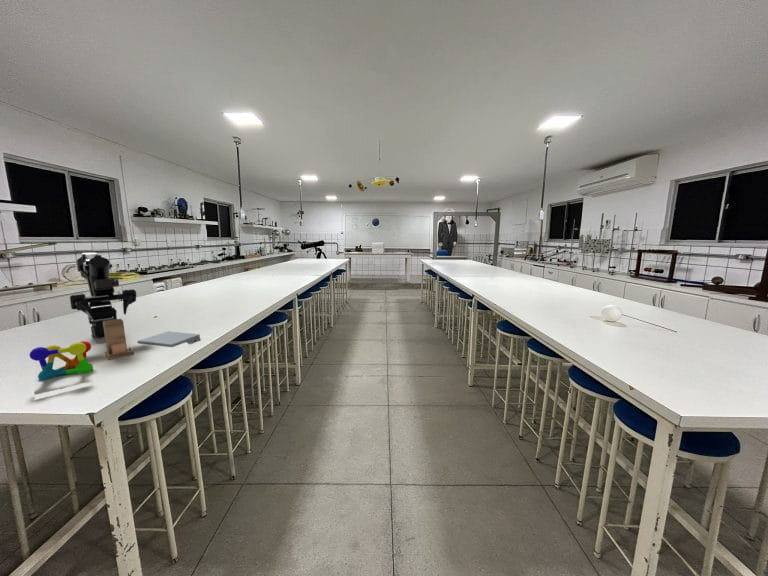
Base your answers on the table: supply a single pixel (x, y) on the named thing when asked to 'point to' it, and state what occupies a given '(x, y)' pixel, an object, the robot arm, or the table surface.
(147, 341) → the plate
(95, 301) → the robot arm
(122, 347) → the block
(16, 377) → the table surface
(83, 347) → the molecular model
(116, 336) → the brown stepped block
